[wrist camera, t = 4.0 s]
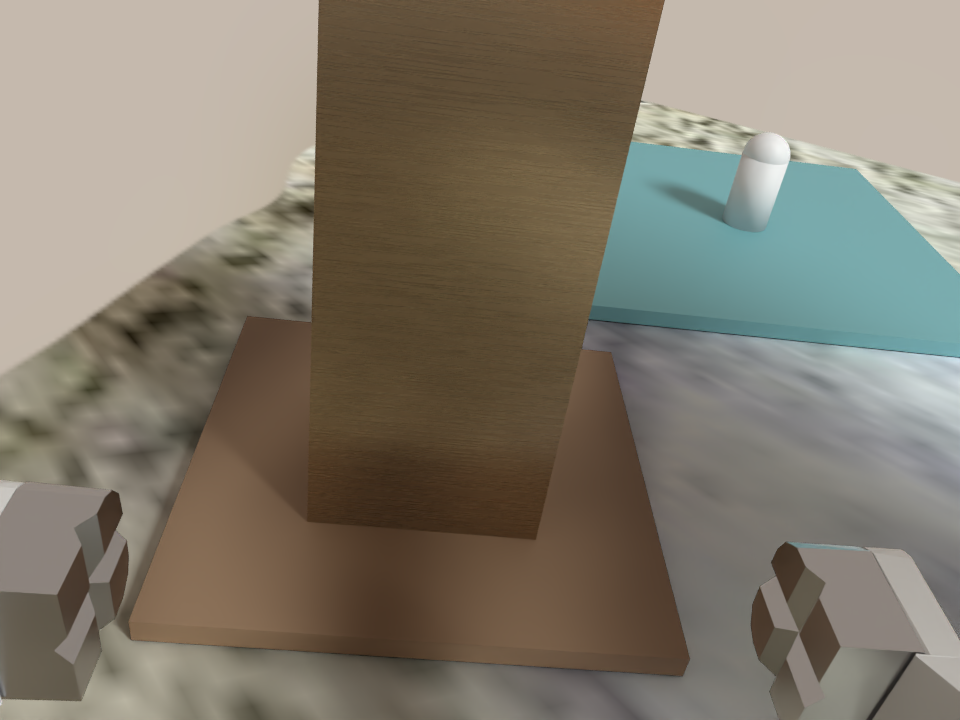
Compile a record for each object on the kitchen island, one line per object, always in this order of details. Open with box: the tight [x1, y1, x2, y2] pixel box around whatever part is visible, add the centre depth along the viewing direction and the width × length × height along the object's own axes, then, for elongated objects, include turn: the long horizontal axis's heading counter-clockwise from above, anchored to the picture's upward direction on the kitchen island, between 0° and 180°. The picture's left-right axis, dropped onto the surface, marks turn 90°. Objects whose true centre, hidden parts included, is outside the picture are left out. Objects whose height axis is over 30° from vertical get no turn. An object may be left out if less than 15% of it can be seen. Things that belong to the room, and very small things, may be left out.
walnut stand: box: [128, 316, 690, 676], centre depth 22 cm, size 12×12×6 cm
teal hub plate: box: [589, 132, 960, 357], centre depth 38 cm, size 18×18×5 cm
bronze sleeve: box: [307, 0, 665, 540], centre depth 19 cm, size 6×6×14 cm
